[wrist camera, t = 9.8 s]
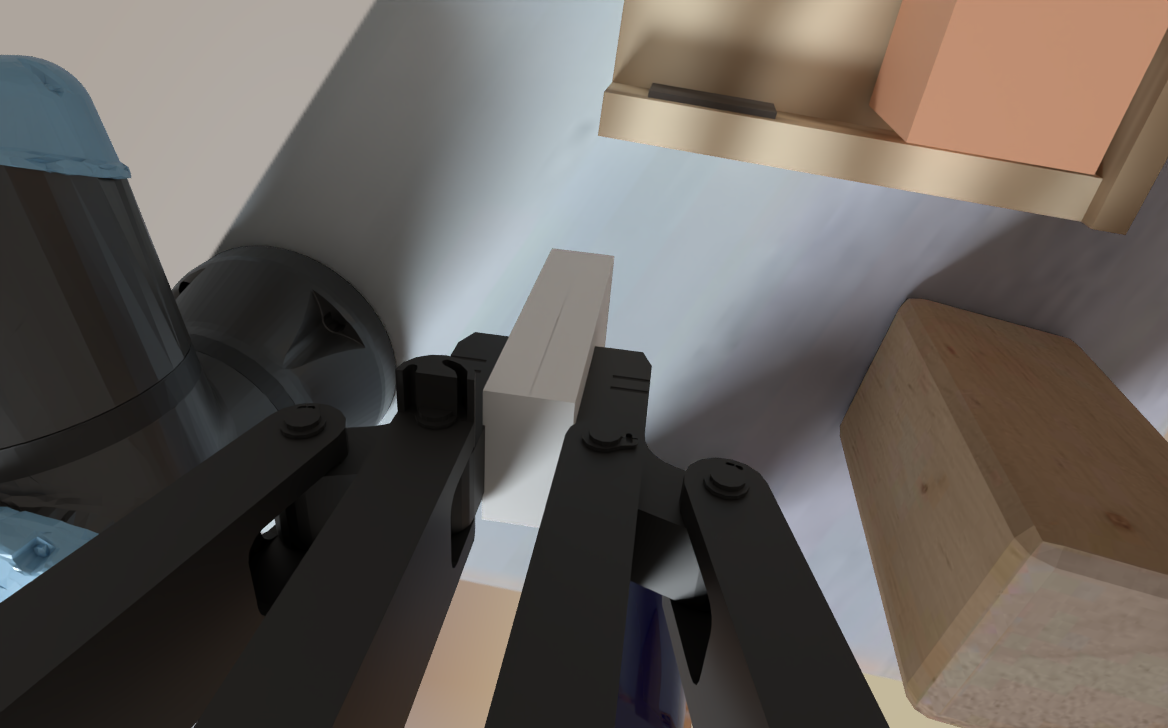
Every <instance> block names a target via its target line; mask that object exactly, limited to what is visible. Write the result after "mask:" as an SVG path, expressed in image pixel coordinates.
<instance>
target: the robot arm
mask: <svg viewBox="0 0 1168 728" xmlns="http://www.w3.org/2000/svg"><path fill="white" fill-rule="evenodd" d="M127 178H131V173H130V170H129V168H128V167H127V166H126V165H124V164H123V163H121V162H120V161H119V158H118V156H117V154H116V152H115V150H114V147H113V145H112V143H111V141H110V139H109V137H108V135H107V133H106V130H105V128H104V126H103V123H102V121H101V119H100V117H99V115H98V112H97V110H96V108H95V106H94V104H93V101H92V99H91V97H90V96H89V94H88V92H87V91H86V89H85V88H84V87H83V85H82V84H81V83H80V82H79V81H78V80H77V79H76V78H75V77H74V76H73V75H72V74H70V73H69V72H68V71H66V70H65V69H63V68H62V67H60V66H58V65H56V64H54V63H52V62H49V61H47V60H44V59H40V58H36V57H32V56H22V55H0V728H191V727H192V726H193V725H194V724H195V723H196V722H197V723H196V725H195V726H194V728H404V726H405V724H406V721H407V718H408V716H409V713H410V710H411V708H412V705H413V702H414V699H415V697H416V694H417V691H418V689H419V686H420V684H421V681H422V678H423V676H424V673H425V670H426V668H427V665H428V662H429V660H430V657H431V654H432V651H433V649H434V646H435V643H436V641H437V638H438V635H439V633H440V630H441V627H442V625H443V622H444V619H445V617H446V614H447V611H448V609H449V606H450V603H451V601H452V598H453V595H454V593H455V590H456V587H457V585H458V582H459V579H460V576H461V574H462V571H463V568H464V566H465V563H466V560H467V558H468V555H469V552H470V550H471V547H472V544H473V542H474V536H475V515H476V512H477V510H478V507H479V504H480V502H481V499H482V519H483V520H489V521H496V522H503V523H509V524H516V525H523V526H529V527H536V528H539V531H538V535H537V539H536V542H535V546H534V549H533V553H532V557H531V560H530V564H529V568H528V571H527V575H526V579H525V582H524V586H523V589H522V593H521V597H520V601H519V604H518V608H517V611H516V615H515V619H514V622H513V626H512V629H511V633H510V637H509V641H508V644H507V648H506V651H505V655H504V658H503V662H502V666H501V669H500V673H499V678H498V680H497V684H496V688H495V692H494V695H493V698H492V702H491V706H490V709H489V713H488V717H487V720H486V724H485V728H615V719H616V709H617V700H618V690H619V681H620V672H621V662H622V653H623V643H624V634H625V625H626V615H627V606H628V596H629V587H630V581H632V582H634V583H636V584H639V585H641V586H643V587H645V588H648V589H650V590H652V591H655V592H657V593H659V594H661V595H662V606H663V610H664V614H665V618H666V622H667V626H668V630H669V634H670V638H671V642H672V646H673V650H674V654H675V658H676V662H677V666H678V670H679V674H680V678H681V682H682V686H683V690H684V694H685V698H686V702H687V706H688V710H689V714H690V718H691V722H692V726H693V728H889V725H888V723H887V721H886V720H885V717H884V715H883V713H882V711H881V709H880V708H879V706H878V703H877V701H876V699H875V697H874V695H873V693H872V691H871V689H870V687H869V685H868V683H867V681H866V679H865V677H864V675H863V673H862V671H861V669H860V667H859V665H858V663H857V661H856V659H855V657H854V655H853V653H852V651H851V649H850V647H849V645H848V643H847V641H846V639H845V637H844V635H843V633H842V631H841V629H840V627H839V625H838V623H837V621H836V619H835V617H834V615H833V613H832V611H831V609H830V607H829V605H828V603H827V601H826V599H825V597H824V595H823V593H822V591H821V589H820V587H819V585H818V583H817V581H816V579H815V577H814V575H813V573H812V571H811V569H810V567H809V565H808V563H807V561H806V559H805V557H804V555H803V553H802V551H801V549H800V547H799V545H798V543H797V541H796V539H795V537H794V535H793V533H792V531H791V529H790V527H789V525H788V523H787V521H786V519H785V517H784V515H783V513H782V511H781V509H780V507H779V505H778V503H777V501H776V499H775V497H774V495H773V493H772V491H771V489H770V487H769V485H768V484H767V482H766V481H765V480H764V479H763V477H762V476H761V475H760V474H759V473H758V472H757V471H755V470H753V469H752V468H750V467H749V466H747V465H745V464H742V463H740V462H737V461H734V460H731V459H722V458H709V459H702V460H699V461H697V462H695V463H693V464H691V465H690V466H689V467H688V469H687V470H686V471H684V470H681V469H679V468H676V467H674V466H672V465H669V464H667V463H665V462H663V461H662V460H660V459H659V458H658V457H656V456H655V455H654V454H653V453H652V452H651V451H650V450H649V448H648V446H647V444H646V442H645V426H646V416H647V406H648V397H649V387H650V378H651V368H652V366H651V364H650V363H649V361H648V360H647V358H646V356H645V355H644V353H643V352H636V351H628V350H621V349H613V348H606V347H605V340H606V331H607V321H608V312H609V302H610V292H611V283H612V273H613V263H614V256H610V255H602V254H594V253H586V252H577V251H569V250H561V249H553V248H552V250H551V252H550V254H549V256H548V258H547V260H546V262H545V264H544V266H543V268H542V270H541V272H540V274H539V276H538V278H537V280H536V282H535V285H534V287H533V289H532V291H531V293H530V295H529V297H528V299H527V301H526V303H525V305H524V307H523V309H522V311H521V313H520V315H519V317H518V319H517V321H516V323H515V326H514V328H513V330H512V332H511V334H510V336H509V337H508V336H501V335H493V334H485V333H478V332H475V333H473V334H471V335H470V336H468V337H466V338H465V339H463V340H462V341H460V342H458V344H457V346H456V347H455V349H454V351H453V352H452V354H451V356H447V355H428V356H421V357H416V358H413V359H411V360H408V361H406V362H403V363H402V364H401V365H400V366H399V367H398V368H396V365H395V358H394V353H393V350H392V346H391V343H390V340H389V338H388V335H387V333H386V331H385V329H384V327H383V325H382V323H381V321H380V320H379V318H378V316H377V315H376V313H375V312H374V310H373V309H372V308H371V306H370V305H369V304H368V303H367V301H366V300H365V299H364V298H363V297H362V296H361V294H360V293H359V292H358V291H357V290H356V289H355V288H354V287H353V286H351V285H350V284H349V283H348V282H347V281H346V280H344V279H343V278H342V277H341V276H339V275H338V274H337V273H335V272H334V271H332V270H331V269H329V268H327V267H326V266H324V265H323V264H321V263H319V262H317V261H315V260H313V259H311V258H308V257H306V256H304V255H301V254H298V253H296V252H292V251H289V250H285V249H281V248H275V247H267V246H247V247H240V248H235V249H231V250H228V251H225V252H222V253H220V254H218V255H216V256H214V257H213V258H211V259H209V260H208V261H206V262H204V263H203V264H201V265H199V266H198V267H196V268H195V269H193V270H191V271H190V272H189V273H187V274H186V275H185V276H184V277H183V278H182V279H181V280H180V281H179V282H178V283H177V284H176V285H175V286H174V288H173V289H172V290H171V288H170V285H169V283H168V280H167V278H166V276H165V273H164V270H163V268H162V265H161V263H160V260H159V258H158V255H157V253H156V250H155V248H154V245H153V243H152V240H151V238H150V236H149V233H148V230H147V227H146V225H145V222H144V220H143V218H142V215H141V212H140V210H139V207H138V205H137V202H136V200H135V197H134V195H133V192H132V190H131V187H130V185H129V182H128V180H127ZM395 385H396V390H397V407H398V412H397V414H396V415H395V417H394V418H393V420H392V421H391V423H389V424H385V425H378V424H379V422H380V421H381V419H382V418H383V417H384V415H385V414H386V412H387V410H388V409H389V406H390V404H391V402H392V399H393V396H394V391H395ZM377 425H378V426H377ZM273 519H275V523H276V524H275V525H274V526H273V527H272V528H271V529H270V530H269V531H267V532H266V533H264V534H261V530H262V529H263V528H264V527H265V526H266V525H268V524H269V523H270V522H271V521H272V520H273Z"/></svg>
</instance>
